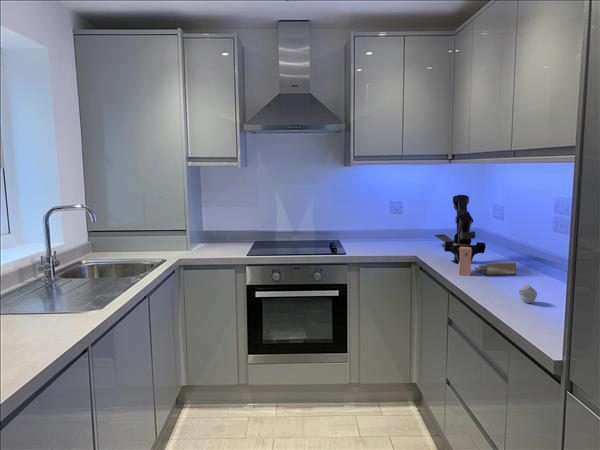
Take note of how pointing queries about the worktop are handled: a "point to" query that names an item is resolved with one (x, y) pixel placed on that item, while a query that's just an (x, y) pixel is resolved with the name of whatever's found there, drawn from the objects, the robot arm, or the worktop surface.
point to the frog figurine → (528, 294)
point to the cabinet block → (465, 261)
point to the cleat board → (497, 269)
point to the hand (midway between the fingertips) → (465, 261)
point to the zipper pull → (443, 238)
